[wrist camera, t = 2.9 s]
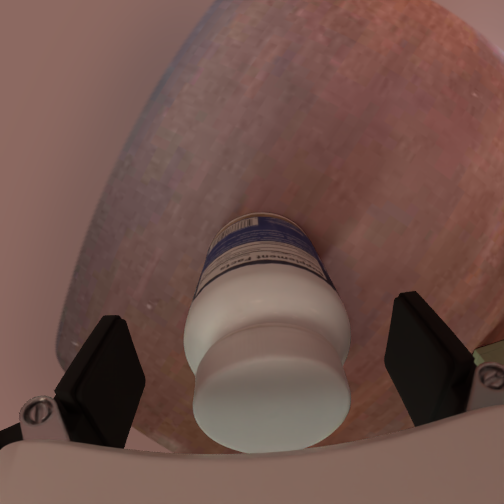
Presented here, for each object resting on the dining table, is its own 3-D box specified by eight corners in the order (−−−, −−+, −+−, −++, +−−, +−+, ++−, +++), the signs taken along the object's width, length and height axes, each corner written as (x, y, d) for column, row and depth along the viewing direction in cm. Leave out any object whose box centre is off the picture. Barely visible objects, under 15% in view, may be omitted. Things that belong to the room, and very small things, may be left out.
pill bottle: (298, 314, 17) (333, 468, 8) (201, 297, 17) (163, 453, 8) (326, 221, 15) (415, 342, 6) (217, 199, 15) (169, 308, 6)
